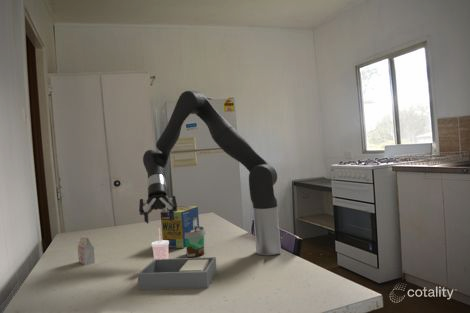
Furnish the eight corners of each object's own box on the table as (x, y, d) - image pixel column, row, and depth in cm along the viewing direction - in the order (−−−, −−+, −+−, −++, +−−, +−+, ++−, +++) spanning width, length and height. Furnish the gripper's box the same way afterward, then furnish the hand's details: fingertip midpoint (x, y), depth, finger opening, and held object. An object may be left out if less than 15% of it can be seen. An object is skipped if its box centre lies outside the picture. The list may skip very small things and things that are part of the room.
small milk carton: (88, 259, 140) (86, 234, 139) (94, 262, 135) (92, 237, 135) (78, 262, 137) (76, 236, 137) (85, 265, 132) (83, 239, 132)
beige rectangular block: (210, 273, 110) (209, 259, 110) (203, 285, 100) (201, 270, 100) (188, 273, 111) (187, 259, 111) (179, 286, 101) (178, 270, 101)
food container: (202, 259, 128) (199, 232, 128) (186, 259, 129) (184, 233, 129) (210, 249, 140) (209, 225, 140) (196, 250, 142) (194, 225, 141)
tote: (216, 274, 111) (215, 257, 111) (208, 291, 98) (206, 272, 98) (155, 275, 114) (154, 259, 114) (138, 292, 101) (137, 274, 101)
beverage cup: (162, 271, 118) (159, 230, 118) (149, 269, 121) (146, 229, 121) (174, 265, 123) (171, 226, 123) (161, 263, 127) (159, 225, 126)
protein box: (162, 247, 149) (159, 212, 149) (181, 238, 163) (178, 205, 163) (183, 248, 145) (180, 211, 145) (200, 239, 160) (198, 205, 159)
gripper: (138, 183, 137) (138, 217, 126) (174, 180, 140) (178, 213, 129) (140, 195, 143) (140, 228, 131) (174, 192, 146) (178, 224, 134)
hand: (159, 220), depth 130 cm, fingers open, 8 cm apart
